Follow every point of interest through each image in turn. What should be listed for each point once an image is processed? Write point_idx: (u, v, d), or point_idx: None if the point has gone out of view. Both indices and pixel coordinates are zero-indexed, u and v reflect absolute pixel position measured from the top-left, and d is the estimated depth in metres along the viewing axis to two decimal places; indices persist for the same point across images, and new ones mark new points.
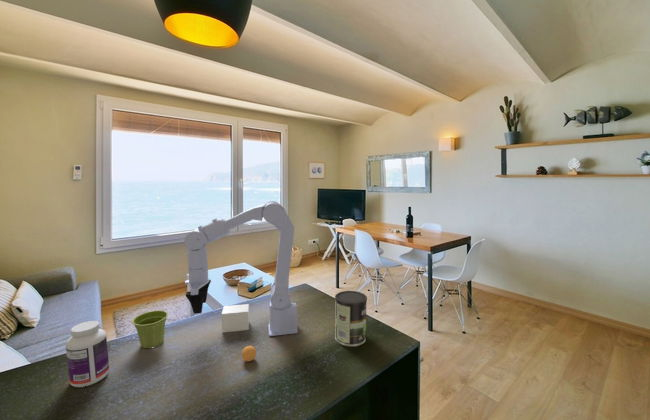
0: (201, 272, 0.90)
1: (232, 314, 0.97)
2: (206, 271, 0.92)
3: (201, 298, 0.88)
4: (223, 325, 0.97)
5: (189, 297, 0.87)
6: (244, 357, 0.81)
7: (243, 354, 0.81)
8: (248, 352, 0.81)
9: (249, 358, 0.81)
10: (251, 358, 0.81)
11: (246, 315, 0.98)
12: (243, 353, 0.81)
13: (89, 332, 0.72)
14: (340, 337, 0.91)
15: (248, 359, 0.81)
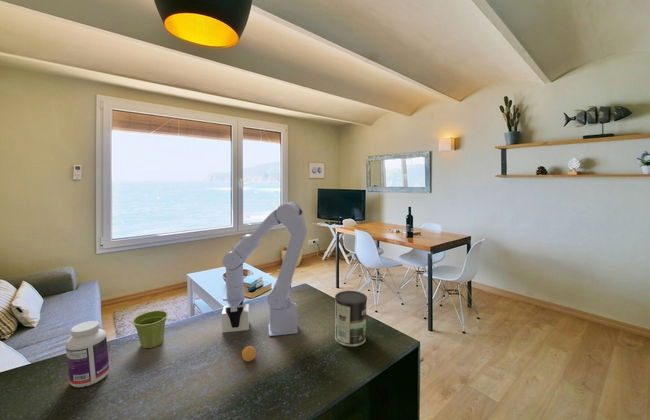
0: (238, 290, 0.97)
1: None
2: (242, 288, 0.99)
3: (239, 313, 0.96)
4: (223, 325, 0.97)
5: (228, 313, 0.95)
6: (244, 357, 0.81)
7: (243, 354, 0.81)
8: (248, 352, 0.81)
9: (249, 358, 0.81)
10: (251, 358, 0.81)
11: (246, 315, 0.98)
12: (243, 353, 0.81)
13: (89, 332, 0.72)
14: (340, 337, 0.91)
15: (248, 359, 0.81)
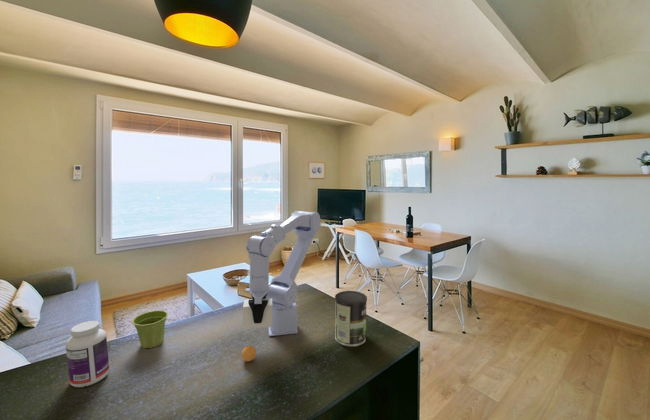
0: (263, 280, 0.87)
1: None
2: (267, 279, 0.88)
3: (263, 307, 0.85)
4: (244, 320, 0.86)
5: (251, 306, 0.84)
6: (244, 357, 0.81)
7: (243, 354, 0.81)
8: (248, 352, 0.81)
9: (249, 358, 0.81)
10: (251, 358, 0.81)
11: (270, 310, 0.87)
12: (243, 353, 0.81)
13: (89, 332, 0.72)
14: (340, 337, 0.91)
15: (248, 359, 0.81)
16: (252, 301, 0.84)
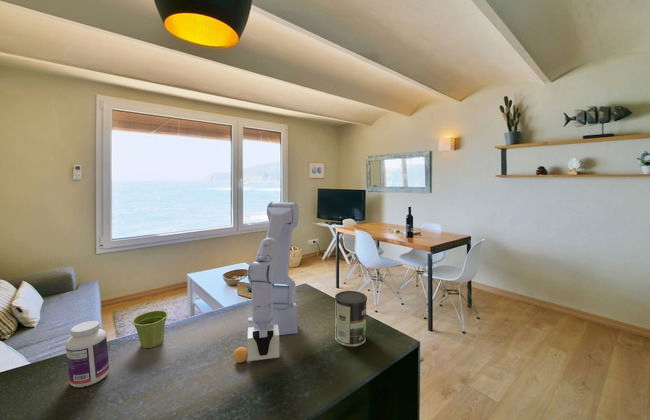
0: (267, 309, 0.80)
1: None
2: (272, 307, 0.82)
3: (269, 339, 0.78)
4: (249, 352, 0.79)
5: (256, 339, 0.77)
6: (238, 361, 0.81)
7: (236, 361, 0.81)
8: (236, 356, 0.80)
9: (241, 359, 0.80)
10: (243, 356, 0.80)
11: (277, 339, 0.81)
12: (235, 360, 0.81)
13: (89, 332, 0.72)
14: (340, 337, 0.91)
15: (242, 359, 0.80)
16: (256, 333, 0.78)
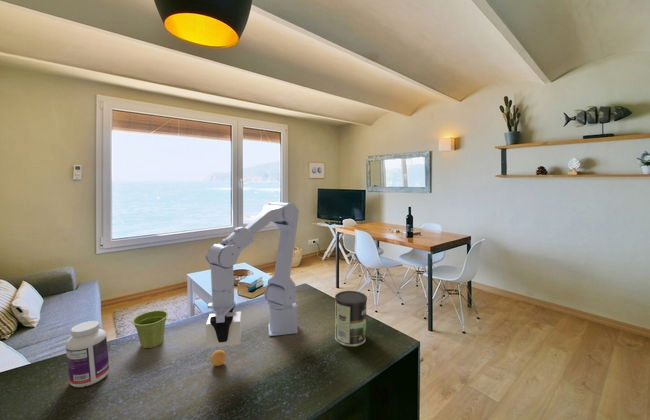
0: (227, 294, 0.77)
1: None
2: (232, 293, 0.79)
3: (228, 325, 0.75)
4: (208, 338, 0.76)
5: (214, 324, 0.74)
6: (220, 357, 0.79)
7: (223, 356, 0.80)
8: (222, 363, 0.79)
9: (216, 361, 0.79)
10: (214, 363, 0.79)
11: (237, 326, 0.78)
12: (223, 356, 0.80)
13: (89, 332, 0.72)
14: (340, 337, 0.91)
15: (216, 360, 0.79)
16: (214, 319, 0.75)
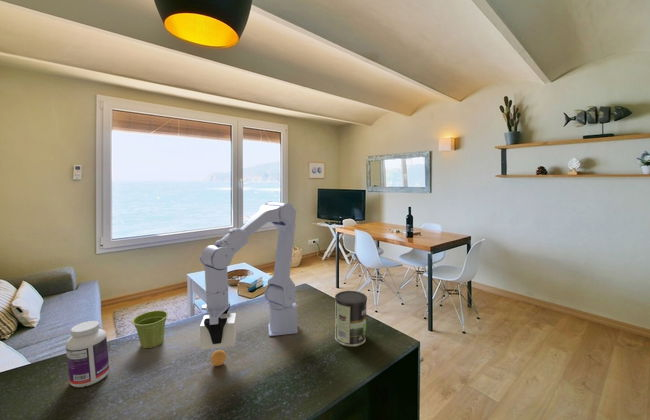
0: (221, 296, 0.77)
1: None
2: (226, 294, 0.78)
3: (222, 326, 0.75)
4: (202, 340, 0.76)
5: (207, 326, 0.74)
6: (220, 357, 0.79)
7: (223, 356, 0.80)
8: (222, 363, 0.79)
9: (216, 361, 0.79)
10: (214, 363, 0.79)
11: (231, 328, 0.78)
12: (223, 356, 0.80)
13: (89, 332, 0.72)
14: (340, 337, 0.91)
15: (216, 360, 0.79)
16: (208, 321, 0.74)
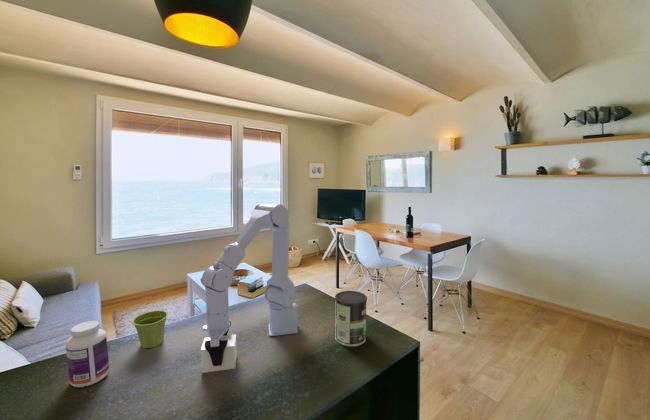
0: (222, 317, 0.77)
1: None
2: (227, 315, 0.79)
3: (222, 349, 0.75)
4: (203, 364, 0.77)
5: (208, 349, 0.74)
6: None
7: None
8: None
9: None
10: None
11: (232, 350, 0.78)
12: None
13: (89, 332, 0.72)
14: (340, 337, 0.91)
15: None
16: (209, 343, 0.75)
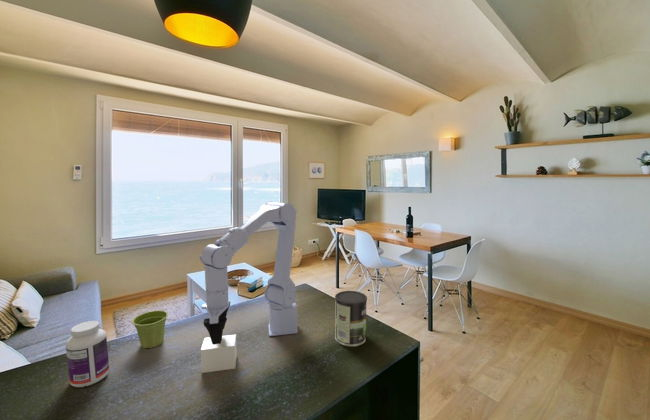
0: (221, 295, 0.77)
1: (214, 350, 0.77)
2: (226, 293, 0.78)
3: (221, 326, 0.75)
4: (203, 364, 0.77)
5: (207, 326, 0.73)
6: None
7: None
8: None
9: None
10: None
11: (232, 350, 0.78)
12: None
13: (89, 332, 0.72)
14: (340, 337, 0.91)
15: None
16: (208, 321, 0.74)
